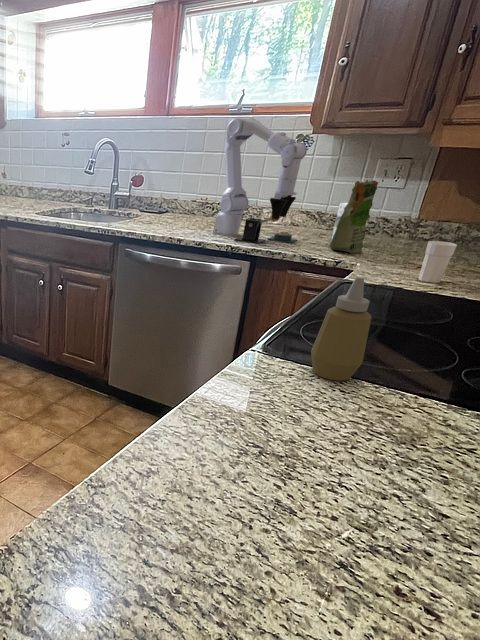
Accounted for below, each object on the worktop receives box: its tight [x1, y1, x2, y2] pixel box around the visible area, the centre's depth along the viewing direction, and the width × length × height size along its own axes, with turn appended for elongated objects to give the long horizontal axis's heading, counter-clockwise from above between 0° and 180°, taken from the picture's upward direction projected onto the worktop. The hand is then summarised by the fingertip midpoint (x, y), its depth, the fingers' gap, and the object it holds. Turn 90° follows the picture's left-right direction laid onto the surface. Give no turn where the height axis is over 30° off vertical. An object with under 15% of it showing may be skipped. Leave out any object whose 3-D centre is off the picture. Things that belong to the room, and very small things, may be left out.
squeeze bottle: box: [310, 276, 372, 382], centre depth 91 cm, size 8×8×18 cm
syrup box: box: [330, 202, 348, 241], centre depth 205 cm, size 6×6×14 cm
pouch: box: [328, 179, 379, 255], centre depth 185 cm, size 11×12×25 cm
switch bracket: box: [234, 217, 267, 245], centre depth 201 cm, size 9×8×9 cm
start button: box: [278, 229, 289, 235], centre depth 203 cm, size 3×3×2 cm
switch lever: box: [258, 215, 281, 226], centre depth 197 cm, size 11×3×3 cm, turn 46°
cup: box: [417, 240, 458, 284], centre depth 153 cm, size 7×7×11 cm
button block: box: [266, 232, 298, 244], centre depth 204 cm, size 9×6×3 cm, turn 46°
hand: (278, 217), depth 194 cm, fingers open, 7 cm apart
